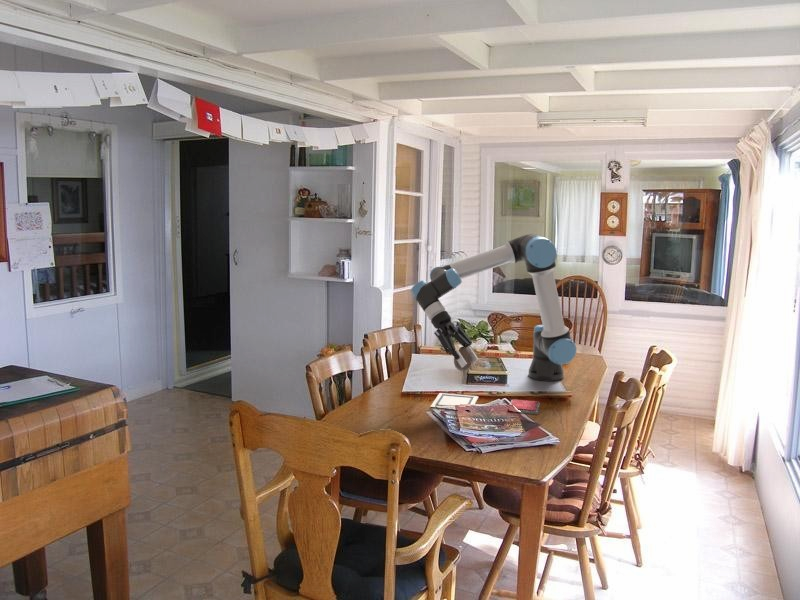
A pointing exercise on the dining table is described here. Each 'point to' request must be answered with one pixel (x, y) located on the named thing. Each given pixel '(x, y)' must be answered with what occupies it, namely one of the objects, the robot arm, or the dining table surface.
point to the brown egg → (466, 357)
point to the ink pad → (526, 406)
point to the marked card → (453, 399)
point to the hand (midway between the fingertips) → (470, 363)
